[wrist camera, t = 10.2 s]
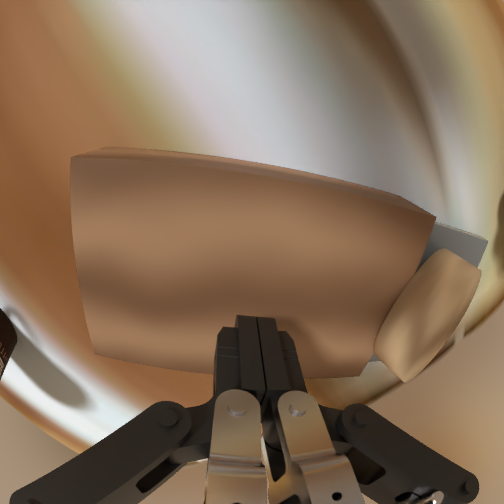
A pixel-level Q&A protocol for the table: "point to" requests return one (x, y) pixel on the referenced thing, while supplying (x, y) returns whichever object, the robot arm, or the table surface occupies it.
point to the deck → (235, 257)
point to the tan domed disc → (426, 313)
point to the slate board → (452, 247)
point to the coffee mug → (6, 341)
